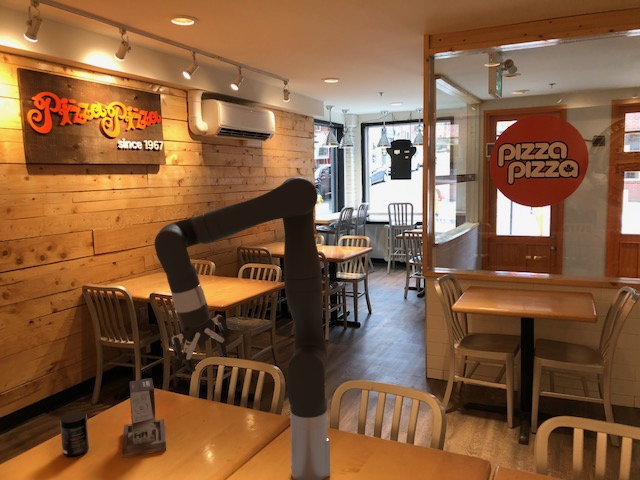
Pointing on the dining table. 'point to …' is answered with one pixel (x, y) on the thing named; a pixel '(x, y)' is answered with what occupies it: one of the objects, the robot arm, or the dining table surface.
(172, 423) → the dining table surface
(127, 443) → the tray
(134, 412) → the coffee box
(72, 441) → the supplement container
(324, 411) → the robot arm
